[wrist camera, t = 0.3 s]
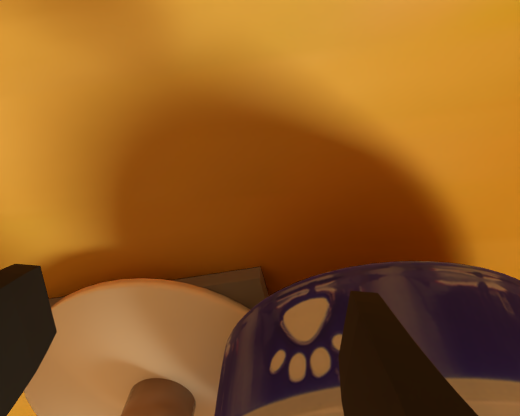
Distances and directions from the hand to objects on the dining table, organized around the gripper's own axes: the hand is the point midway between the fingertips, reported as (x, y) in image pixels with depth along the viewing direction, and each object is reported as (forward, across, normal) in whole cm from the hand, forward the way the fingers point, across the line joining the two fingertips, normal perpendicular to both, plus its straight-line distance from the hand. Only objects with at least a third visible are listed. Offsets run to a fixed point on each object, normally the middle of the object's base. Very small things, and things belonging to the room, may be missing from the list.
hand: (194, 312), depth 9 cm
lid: (+9, +4, +15) cm, 18 cm away
